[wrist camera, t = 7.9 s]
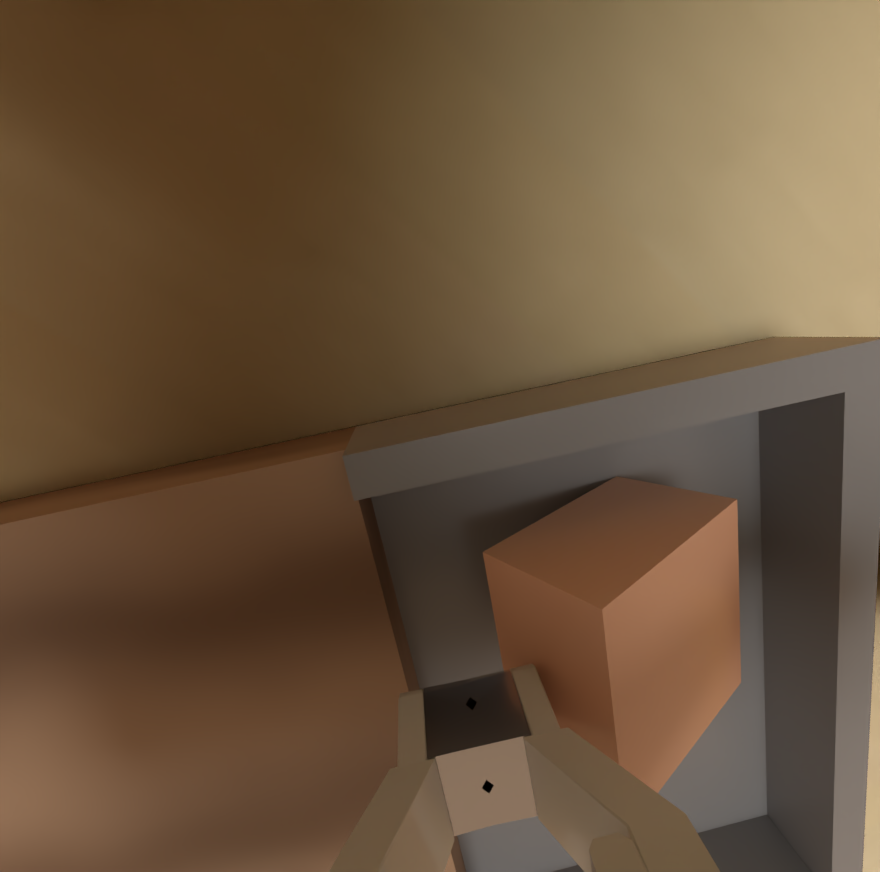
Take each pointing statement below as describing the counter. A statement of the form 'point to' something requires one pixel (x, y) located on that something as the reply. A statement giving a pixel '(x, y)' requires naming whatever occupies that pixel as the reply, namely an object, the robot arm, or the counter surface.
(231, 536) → the walnut board
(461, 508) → the tray
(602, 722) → the orange square block
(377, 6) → the counter surface
